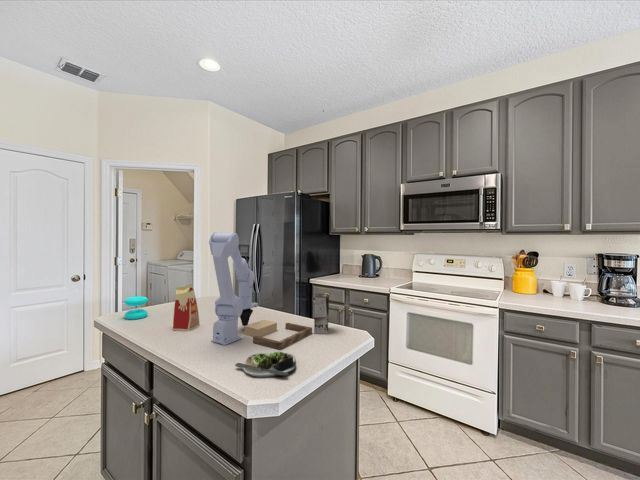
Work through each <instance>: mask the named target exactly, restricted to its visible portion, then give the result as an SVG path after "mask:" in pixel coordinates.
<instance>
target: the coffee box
mask: <svg viewBox="0 0 640 480" xmlns="http://www.w3.org/2000/svg"><path fill="white" fill-rule="evenodd" d="M329 305H330V297H329V293H315V294H314V309H313V310H314V312H313V313H314V315H313V318H314V319H313V320H314V321H313V326H314V327H313V334H318V335H319V334H320V335H321V334H322V335H323V334H324V335H328V334H329V316H330V315H329V311H330V309H329V307H330V306H329Z"/></svg>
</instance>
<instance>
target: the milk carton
mask: <svg viewBox="0 0 640 480" xmlns="http://www.w3.org/2000/svg"><path fill="white" fill-rule="evenodd" d="M175 289H176V291H175V298H174V307H173V320H172V331H180V332H182V331H183V332H190V331H192V330H194V329H196V328H197V327H199V326H201V325H200V315H199V308H198V303H197V301H198V300H197V298H196V293H195V289H194V288H193V287H192V284H189V285H184V286H177V287H175Z"/></svg>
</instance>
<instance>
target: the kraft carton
mask: <svg viewBox="0 0 640 480" xmlns="http://www.w3.org/2000/svg"><path fill="white" fill-rule="evenodd" d="M243 327H244V328H243V329H244V330H243V331H244V333H243V334H244V335H245V336H248V337H252V338H253V336H259V337H265V336H267V335H269V334H272V333H274V332H276V331H278V330H277V328H278V323H277V322H275V321H271V320H266V319H262V320H261V319H260V320H258V321H256V322H252V323H248V325H246V326H243Z"/></svg>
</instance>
